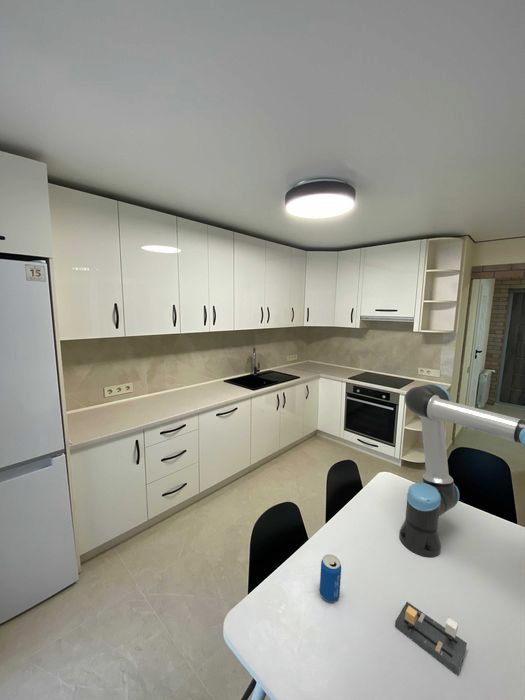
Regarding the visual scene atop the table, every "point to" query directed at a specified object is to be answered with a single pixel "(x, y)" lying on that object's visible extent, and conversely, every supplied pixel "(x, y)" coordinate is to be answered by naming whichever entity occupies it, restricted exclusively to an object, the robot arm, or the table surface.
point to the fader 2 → (451, 628)
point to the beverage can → (330, 578)
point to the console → (433, 639)
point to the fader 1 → (411, 616)
